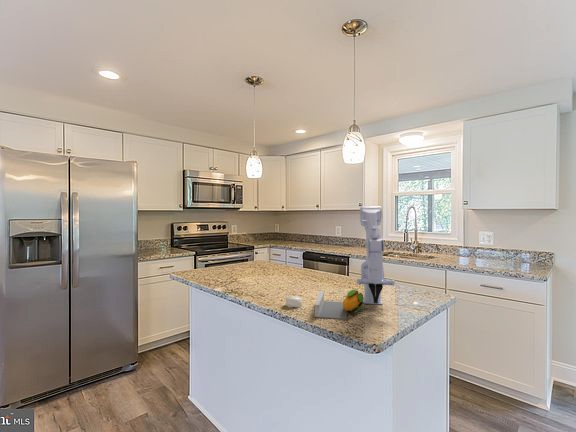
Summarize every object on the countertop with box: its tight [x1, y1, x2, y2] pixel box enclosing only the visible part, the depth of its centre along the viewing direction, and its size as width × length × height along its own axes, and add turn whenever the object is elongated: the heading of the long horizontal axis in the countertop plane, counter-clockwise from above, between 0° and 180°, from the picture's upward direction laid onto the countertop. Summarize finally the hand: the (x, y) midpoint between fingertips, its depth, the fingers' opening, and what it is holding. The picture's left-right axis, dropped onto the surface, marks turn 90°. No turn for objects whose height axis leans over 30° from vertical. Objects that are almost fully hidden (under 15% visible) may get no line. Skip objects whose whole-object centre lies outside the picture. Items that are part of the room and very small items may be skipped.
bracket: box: [314, 290, 348, 321], centre depth 126 cm, size 22×12×5 cm, turn 168°
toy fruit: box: [342, 289, 364, 313], centre depth 124 cm, size 7×8×20 cm
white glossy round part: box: [285, 295, 303, 308], centre depth 132 cm, size 7×7×4 cm
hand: (375, 302), depth 122 cm, fingers closed
